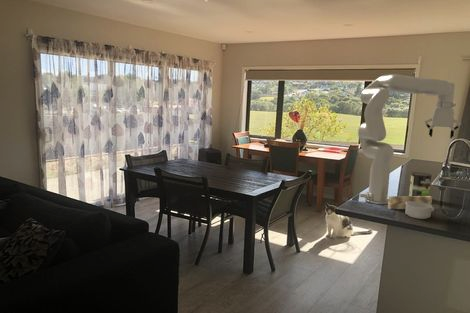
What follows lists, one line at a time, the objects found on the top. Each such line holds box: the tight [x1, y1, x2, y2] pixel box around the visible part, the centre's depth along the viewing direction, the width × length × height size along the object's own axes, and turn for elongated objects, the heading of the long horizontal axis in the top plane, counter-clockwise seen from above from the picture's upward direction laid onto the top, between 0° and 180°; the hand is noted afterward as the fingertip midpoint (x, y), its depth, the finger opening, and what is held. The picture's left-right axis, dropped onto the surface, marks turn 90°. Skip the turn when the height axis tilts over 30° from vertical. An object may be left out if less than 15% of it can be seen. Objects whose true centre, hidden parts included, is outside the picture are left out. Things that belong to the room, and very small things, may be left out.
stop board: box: [387, 195, 433, 210], centre depth 184 cm, size 22×2×6 cm, turn 97°
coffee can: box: [408, 171, 433, 196], centre depth 204 cm, size 10×10×14 cm
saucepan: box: [404, 202, 455, 220], centre depth 170 cm, size 12×20×6 cm, turn 63°
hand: (440, 137), depth 201 cm, fingers open, 9 cm apart
